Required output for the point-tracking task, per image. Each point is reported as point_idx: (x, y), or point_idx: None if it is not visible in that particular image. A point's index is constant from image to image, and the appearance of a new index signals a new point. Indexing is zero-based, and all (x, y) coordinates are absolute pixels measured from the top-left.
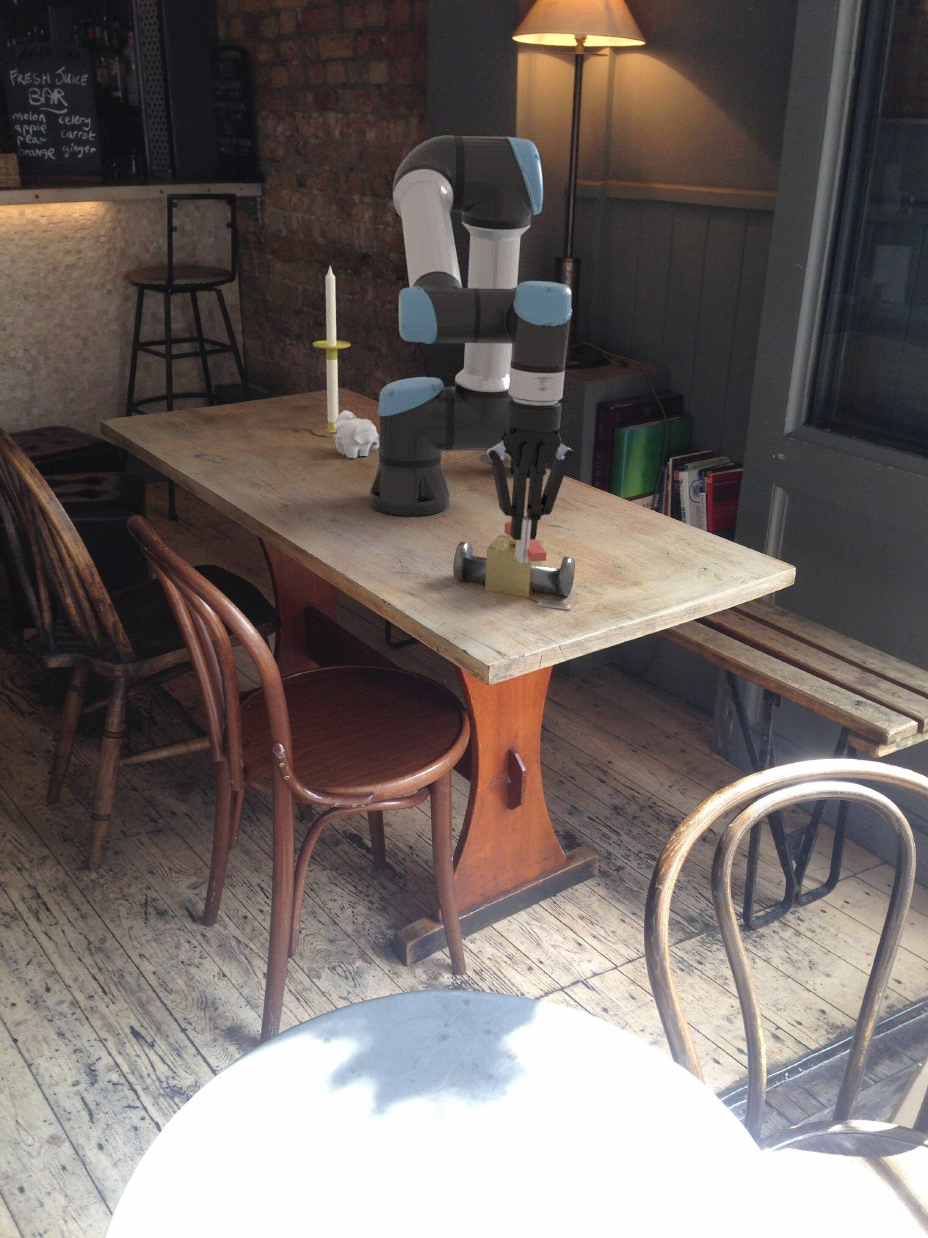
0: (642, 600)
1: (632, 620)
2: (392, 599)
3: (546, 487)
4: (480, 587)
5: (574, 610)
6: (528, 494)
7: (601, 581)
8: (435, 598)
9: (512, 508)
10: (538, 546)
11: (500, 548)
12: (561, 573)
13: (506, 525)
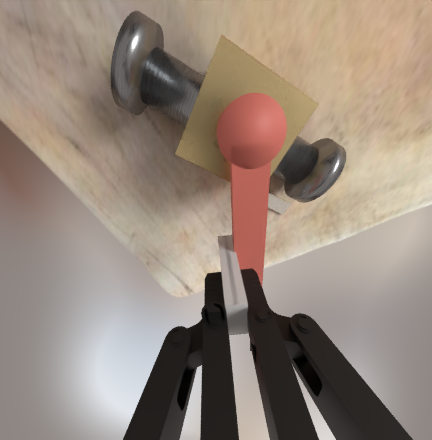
0: (386, 190)
1: (336, 240)
2: (53, 163)
3: (345, 419)
4: (180, 125)
5: (287, 213)
6: (263, 380)
7: (380, 113)
8: (114, 164)
9: (199, 364)
10: (258, 270)
11: (204, 156)
12: (297, 199)
13: (221, 138)
